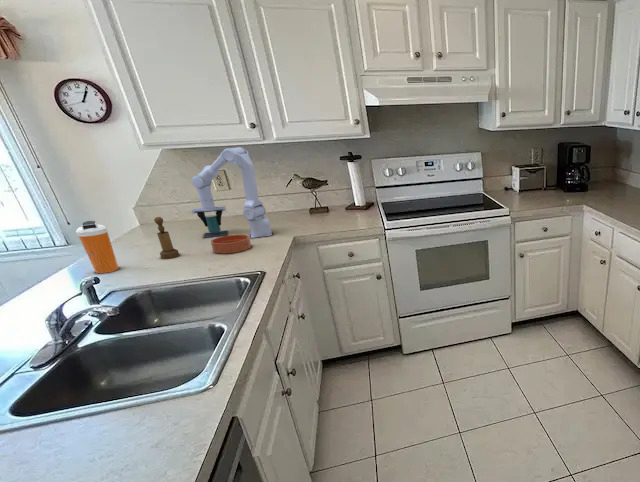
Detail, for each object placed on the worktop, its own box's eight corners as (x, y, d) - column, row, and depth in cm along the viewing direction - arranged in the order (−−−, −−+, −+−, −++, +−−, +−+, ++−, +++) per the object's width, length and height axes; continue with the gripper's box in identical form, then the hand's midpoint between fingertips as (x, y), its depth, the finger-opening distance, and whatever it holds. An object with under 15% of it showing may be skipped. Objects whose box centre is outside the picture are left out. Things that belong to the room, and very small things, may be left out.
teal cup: (221, 229, 219) (217, 214, 216) (220, 231, 215) (216, 216, 212) (209, 230, 217) (205, 215, 214) (208, 232, 212) (203, 217, 209)
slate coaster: (227, 231, 223) (226, 230, 223) (226, 235, 215) (226, 234, 215) (205, 233, 218) (204, 233, 218) (203, 238, 210) (203, 237, 210)
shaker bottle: (119, 265, 174) (101, 218, 166) (124, 269, 168) (106, 222, 161) (90, 270, 167) (71, 223, 160) (94, 276, 162) (74, 226, 154)
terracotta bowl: (251, 242, 203) (248, 232, 201) (251, 251, 191) (249, 240, 189) (214, 247, 196) (211, 237, 194) (213, 256, 184) (210, 245, 182)
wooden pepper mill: (158, 259, 180) (144, 219, 173) (165, 255, 186) (152, 215, 179) (175, 258, 181) (163, 218, 175) (182, 253, 187) (170, 214, 180)
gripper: (187, 202, 203) (195, 228, 209) (221, 199, 209) (228, 225, 214) (190, 199, 209) (197, 225, 214) (223, 197, 215) (230, 222, 220)
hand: (213, 225), depth 215 cm, fingers closed on teal cup, 5 cm apart
